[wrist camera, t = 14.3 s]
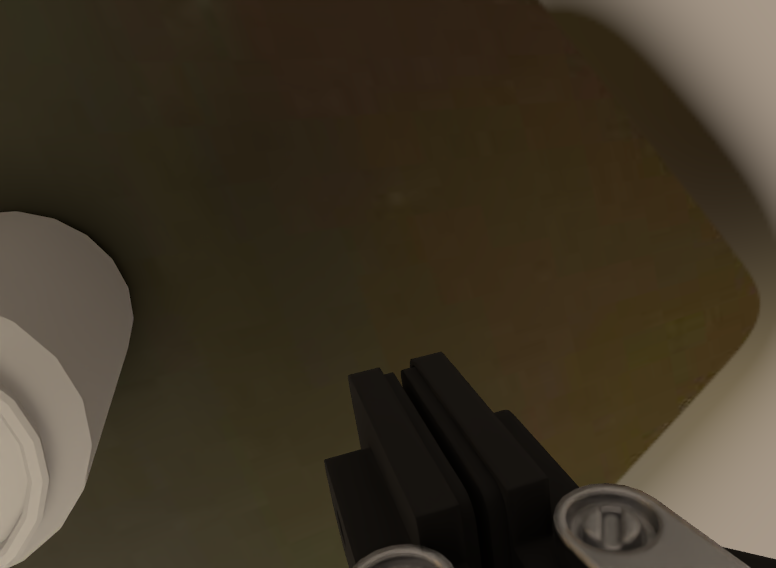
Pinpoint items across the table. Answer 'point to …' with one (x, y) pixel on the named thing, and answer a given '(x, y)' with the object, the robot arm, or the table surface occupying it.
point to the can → (53, 371)
